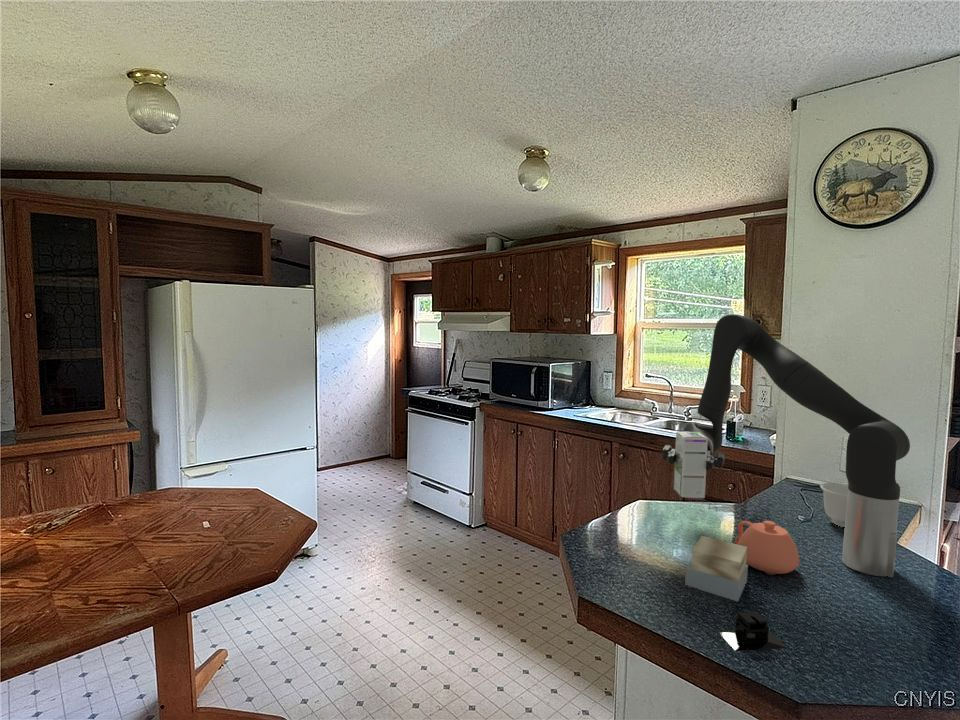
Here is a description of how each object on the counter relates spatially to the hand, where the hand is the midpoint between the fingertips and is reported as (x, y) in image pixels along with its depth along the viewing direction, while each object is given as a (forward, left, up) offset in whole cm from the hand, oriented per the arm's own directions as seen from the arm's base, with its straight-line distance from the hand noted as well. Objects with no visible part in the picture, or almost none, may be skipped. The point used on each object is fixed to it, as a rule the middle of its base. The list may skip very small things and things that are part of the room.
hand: (689, 462), depth 118 cm
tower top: (-9, +10, -18) cm, 23 cm away
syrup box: (0, -2, -8) cm, 8 cm away
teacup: (-29, -50, -22) cm, 62 cm away
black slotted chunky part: (-18, +27, -23) cm, 39 cm away
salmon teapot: (-15, -7, -22) cm, 28 cm away
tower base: (-9, +10, -22) cm, 26 cm away
